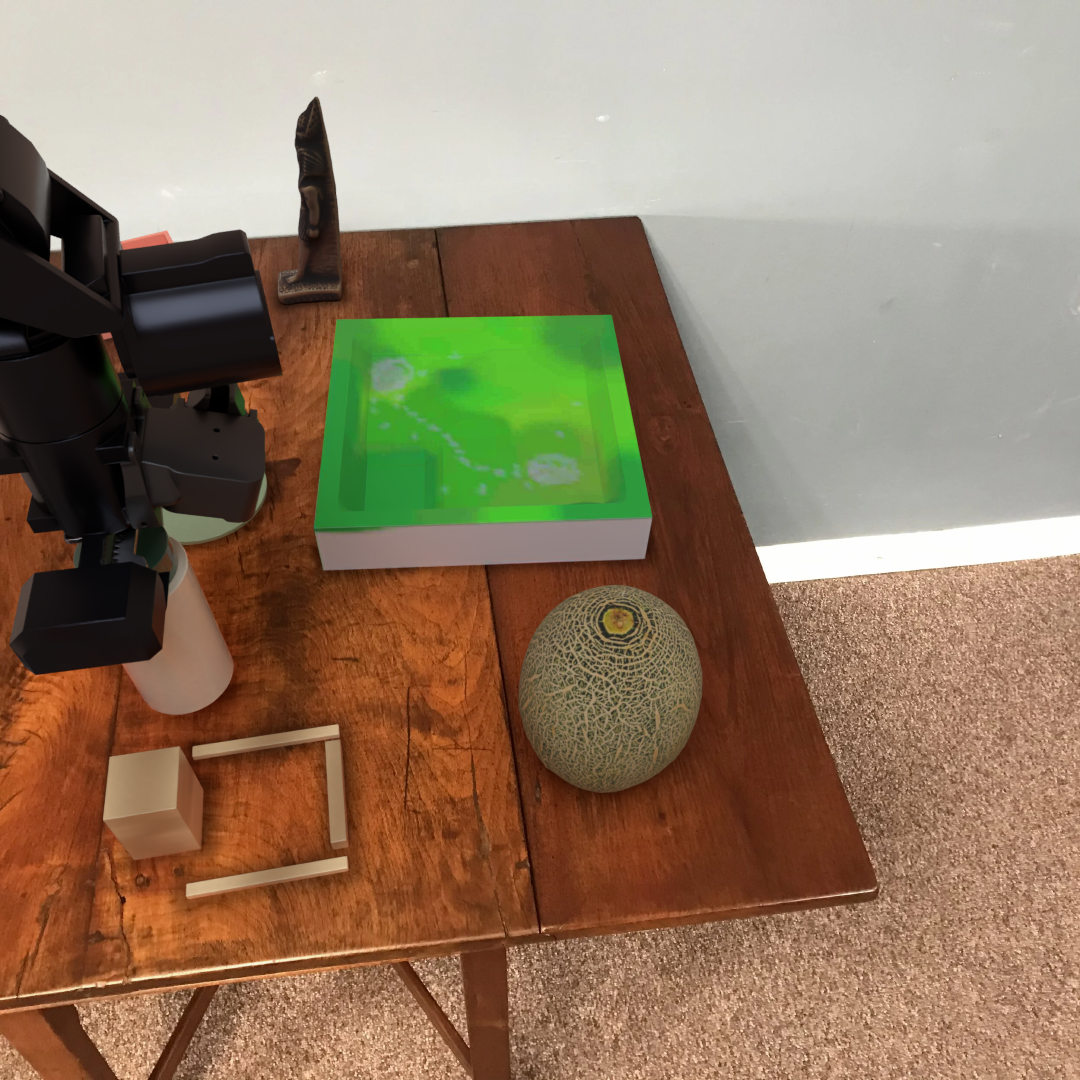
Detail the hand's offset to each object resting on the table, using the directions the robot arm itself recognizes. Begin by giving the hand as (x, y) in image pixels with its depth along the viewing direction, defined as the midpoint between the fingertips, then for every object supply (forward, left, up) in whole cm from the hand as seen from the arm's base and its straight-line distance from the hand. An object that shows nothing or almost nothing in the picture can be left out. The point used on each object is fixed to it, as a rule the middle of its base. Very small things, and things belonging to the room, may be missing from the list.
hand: (152, 602), depth 55 cm
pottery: (+6, +44, -12) cm, 46 cm away
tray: (+27, +15, -12) cm, 33 cm away
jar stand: (+1, -9, -12) cm, 15 cm away
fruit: (+23, -14, -12) cm, 30 cm away
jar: (-4, +1, -6) cm, 8 cm away
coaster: (+4, +20, -12) cm, 24 cm away
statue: (+21, +43, -12) cm, 49 cm away
